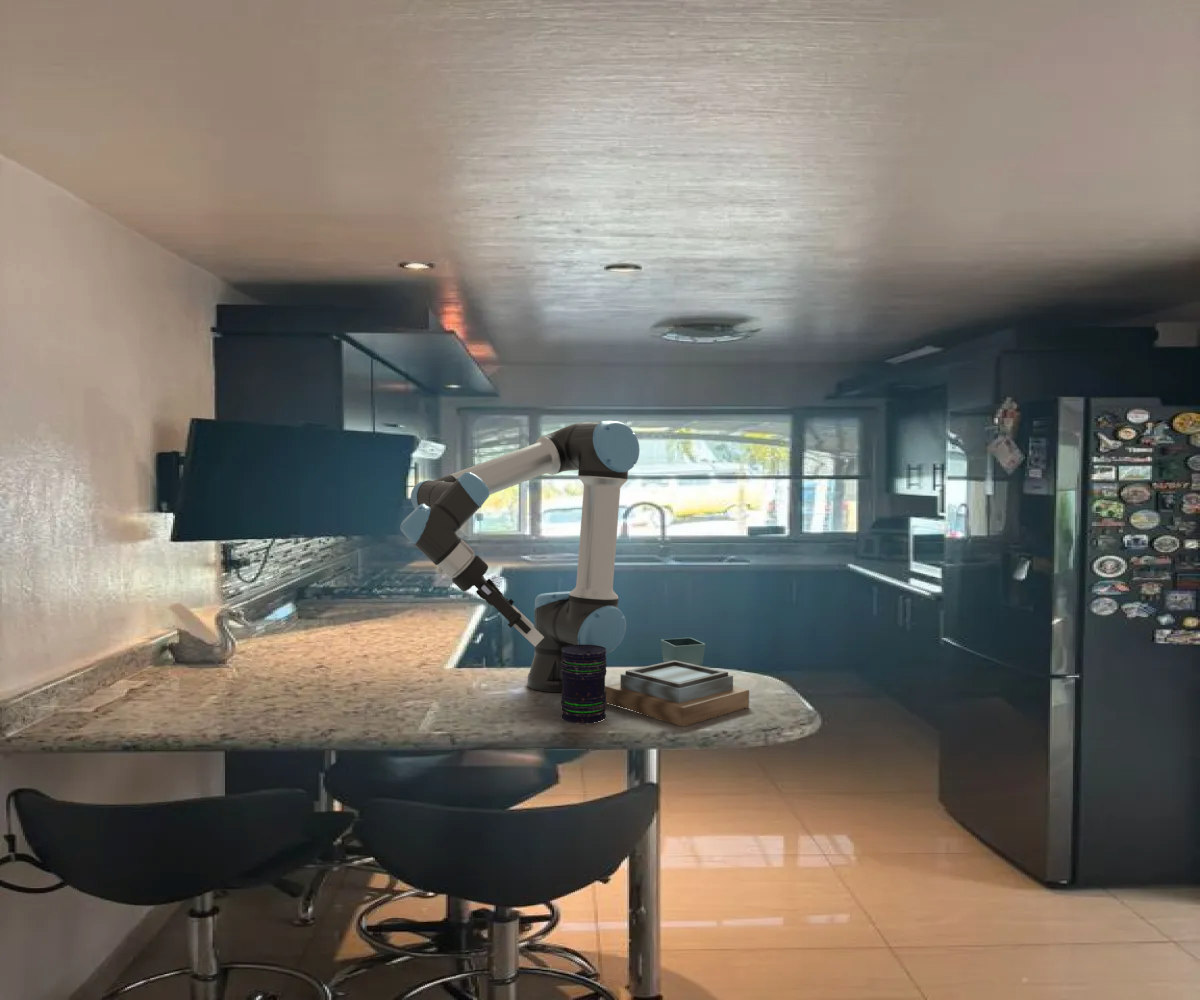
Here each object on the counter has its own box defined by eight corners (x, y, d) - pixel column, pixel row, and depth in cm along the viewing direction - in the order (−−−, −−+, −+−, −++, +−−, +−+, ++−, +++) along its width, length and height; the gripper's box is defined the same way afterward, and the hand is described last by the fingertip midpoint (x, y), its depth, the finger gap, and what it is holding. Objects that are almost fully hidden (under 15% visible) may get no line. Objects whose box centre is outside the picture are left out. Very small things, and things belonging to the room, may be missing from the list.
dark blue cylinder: (554, 713, 204) (555, 646, 203) (596, 709, 207) (597, 643, 207) (569, 726, 195) (569, 655, 194) (613, 721, 198) (613, 652, 197)
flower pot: (705, 678, 237) (706, 643, 236) (674, 681, 233) (675, 646, 233) (690, 670, 245) (690, 637, 244) (659, 673, 241) (660, 639, 241)
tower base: (604, 703, 212) (605, 669, 212) (670, 687, 227) (670, 655, 227) (683, 726, 195) (683, 689, 194) (748, 707, 210) (749, 673, 209)
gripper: (446, 572, 205) (514, 636, 209) (454, 588, 181) (530, 661, 185) (470, 547, 206) (537, 612, 210) (481, 560, 182) (557, 633, 186)
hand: (534, 635), depth 198 cm, fingers open, 13 cm apart
